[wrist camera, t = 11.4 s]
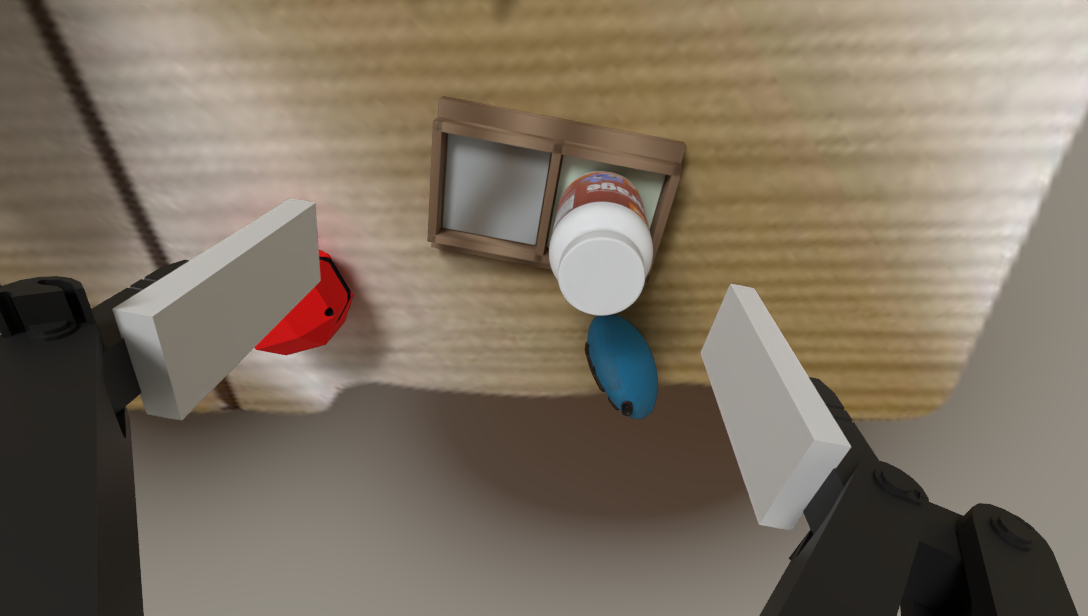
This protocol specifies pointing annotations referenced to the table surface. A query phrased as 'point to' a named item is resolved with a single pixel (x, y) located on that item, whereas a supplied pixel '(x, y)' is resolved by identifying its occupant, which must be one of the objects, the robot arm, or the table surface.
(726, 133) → the table surface
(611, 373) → the ornament
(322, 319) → the ball
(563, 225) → the pill bottle
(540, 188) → the divided sorting tray
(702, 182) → the table surface
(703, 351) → the robot arm
